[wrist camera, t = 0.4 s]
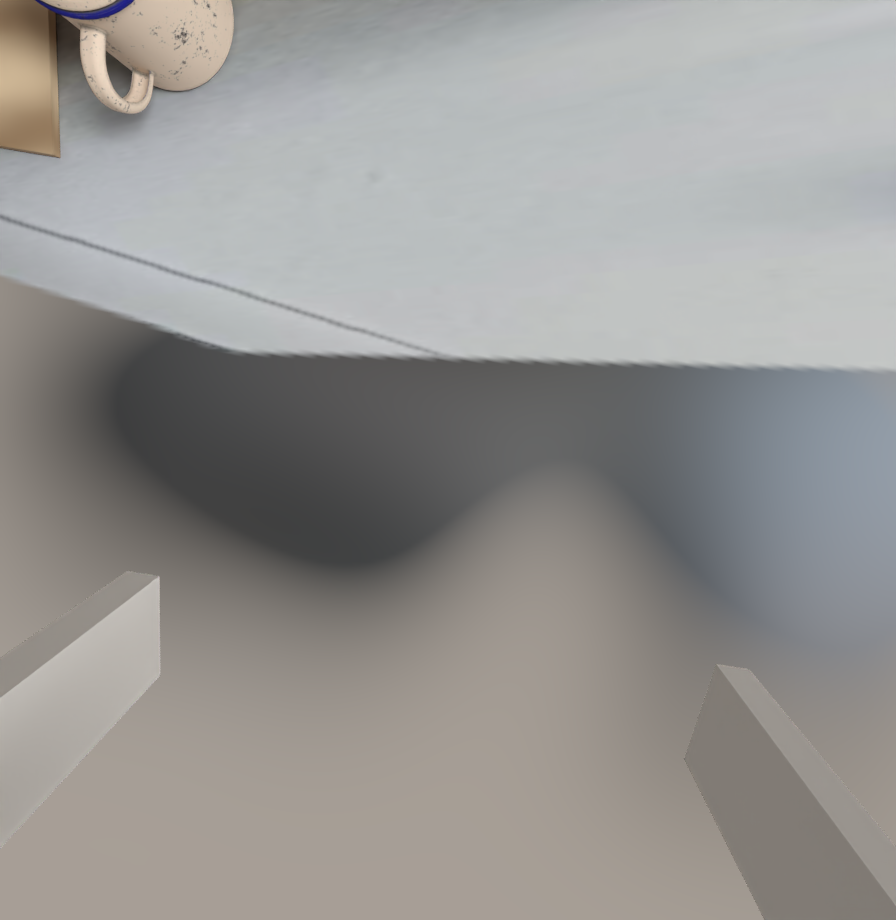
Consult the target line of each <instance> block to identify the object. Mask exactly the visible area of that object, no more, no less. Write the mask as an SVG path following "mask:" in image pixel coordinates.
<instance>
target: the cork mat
mask: <svg viewBox="0 0 896 920" xmlns="http://www.w3.org/2000/svg"><path fill="white" fill-rule="evenodd" d="M0 148H4V149H10V150H16V151H22V152H28V153H34V154H40V155H46V156H52V157H58V158H60V134H59V103H58V73H57V43H56V13H55V12H53V11H51V10H49V9H47V8H45V7H44V6H42V5H41V4H39V3H38V2H37V1H35V0H0Z"/></svg>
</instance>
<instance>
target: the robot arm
mask: <svg viewBox="0 0 896 920" xmlns="http://www.w3.org/2000/svg"><path fill="white" fill-rule="evenodd" d="M159 585H160V583H159V576H156V575H150V574H144V573H137V572H131V571H127V572H125V573H124V574H122V575H121V576H119V577H118V578H117V579H115V580H113V581H112V582H110V583H109V584H108V585H106V586H105V587H103V588H102V589H100V590H99V591H97V592H96V593H94V594H93V595H91V596H90V597H88V598H87V599H85V600H84V601H83V602H81V603H80V604H78V605H77V606H75V607H74V608H72V609H71V610H69V611H68V612H66V613H65V614H64V615H62V616H60V617H59V618H58V619H56V620H55V621H53V622H52V623H50V624H49V625H47V626H46V627H44V628H43V629H41V630H40V631H38V632H37V633H35V634H34V635H33V636H31V637H30V638H28V639H27V640H25V641H24V642H22V643H21V644H19V645H18V646H16V647H15V648H13V649H12V650H11V651H9V652H8V653H6V654H5V655H3V656H2V657H0V849H1V847H2V846H3V845H4V844H5V843H6V842H7V841H8V840H9V839H10V837H12V835H13V834H14V833H15V832H16V831H17V830H18V829H19V828H20V827H21V826H22V825H23V824H24V822H25V821H26V820H27V819H28V818H29V817H30V816H31V815H32V814H33V813H34V811H36V809H37V808H38V807H39V806H40V805H41V804H42V803H43V802H44V801H45V800H46V798H48V796H49V795H50V794H51V793H52V792H53V791H54V790H55V789H56V788H57V787H58V786H59V784H60V783H61V782H62V781H63V780H64V779H65V778H66V777H67V776H68V775H69V774H70V773H71V771H72V770H73V769H74V768H75V767H76V766H77V765H78V764H79V763H80V762H81V761H82V760H83V758H84V757H85V756H86V755H87V754H88V753H89V752H90V751H91V750H92V749H93V748H94V747H95V745H96V744H97V743H98V742H99V741H100V740H101V739H102V738H103V737H104V736H105V735H106V733H107V732H108V731H109V730H110V729H111V728H112V727H113V726H114V725H115V723H117V722H118V720H119V719H120V718H121V717H122V716H123V715H124V714H125V713H126V712H127V711H128V709H130V707H131V706H132V705H133V704H134V703H135V702H136V701H137V700H138V699H139V698H140V697H141V695H142V694H143V693H144V692H145V691H146V690H147V689H148V688H149V687H150V686H151V685H152V683H153V682H154V681H155V680H156V679H157V678H158V677H159V676H160V590H159V589H160V586H159ZM684 760H685V762H686V764H687V766H688V768H689V770H690V772H691V774H692V776H693V778H694V780H695V782H696V784H697V786H698V788H699V790H700V792H701V794H702V796H703V798H704V800H705V802H706V804H707V806H708V808H709V810H710V812H711V814H712V816H713V818H714V820H715V822H716V824H717V826H718V828H719V830H720V832H721V834H722V836H723V838H724V840H725V842H726V844H727V846H728V848H729V850H730V852H731V854H732V856H733V858H734V860H735V862H736V864H737V866H738V868H739V870H740V872H741V874H742V876H743V878H744V880H745V882H746V884H747V886H748V888H749V890H750V892H751V894H752V896H753V898H754V900H755V902H756V904H757V906H758V908H759V910H760V912H761V914H762V916H763V918H764V920H896V846H895V844H894V843H893V842H892V841H891V840H890V838H889V837H888V836H887V835H886V834H885V832H884V831H883V830H882V829H881V828H880V826H879V825H878V824H877V823H876V822H875V820H874V819H873V818H872V817H871V816H870V814H869V813H868V812H867V811H866V810H865V808H864V807H863V806H862V805H861V804H860V802H859V801H858V800H857V799H856V797H855V796H854V795H853V794H852V793H851V791H850V790H849V789H848V788H847V787H846V786H845V784H844V783H843V782H842V781H841V779H840V778H839V777H838V776H837V775H836V773H835V772H834V771H833V770H832V769H831V767H830V766H829V765H828V764H827V763H826V761H825V760H824V759H823V758H822V757H821V755H820V754H819V753H818V752H817V751H816V749H815V748H814V747H813V746H812V744H811V743H810V742H809V741H808V740H807V738H806V737H805V736H804V735H803V734H802V732H801V731H800V730H799V729H798V728H797V727H796V725H795V724H794V723H793V722H792V720H791V719H790V718H789V717H788V716H787V714H786V713H785V712H784V711H783V710H782V709H781V707H780V706H779V705H778V704H777V703H776V701H775V700H774V699H773V697H772V696H771V695H770V694H769V693H768V692H767V690H766V689H765V688H764V687H763V685H762V684H761V683H760V682H759V681H758V680H757V678H756V677H755V676H754V675H753V673H752V672H751V671H750V670H749V669H745V668H738V667H732V666H725V665H719V664H716V666H715V669H714V672H713V675H712V678H711V681H710V684H709V687H708V690H707V693H706V696H705V698H704V701H703V704H702V707H701V710H700V714H699V716H698V720H697V722H696V725H695V728H694V731H693V734H692V737H691V740H690V743H689V746H688V749H687V753H686V755H685V758H684Z"/></svg>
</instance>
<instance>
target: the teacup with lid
mask: <svg viewBox="0 0 896 920" xmlns="http://www.w3.org/2000/svg"><path fill="white" fill-rule="evenodd" d="M35 1H37V2H38V3H39V4H41V5H42V6H44V7H45V8H47V9H49V10H51V11H53V12H55V13H57V14H60V15H62V16H63V17H64V18H66V19H67V20H68V21H69V22H71V23H72V24H73V25H74V26H76V27H77V28H78V29H79V30H80V55H81V62H82V67H83V71H84V74H85V77H86V79H87V81H88V84H89V86H90V88H91V90H92V91H93V93H94V94H95V96H96V97H97V98H98V99H99V100H100V101H101V102H102V103H103V104H104V105H106V106H107V107H109V108H110V109H112V110H115V111H118V112H121V113H127V114H135V113H139V112H141V111H143V110H144V109H145V108H146V107H147V105H148V104H149V102H150V99H151V96H152V91H153V86H156V87H159V88H162V89H165V90H171V91H184V90H190V89H193V88H196V87H198V86H200V85H202V84H204V83H206V82H207V81H208V80H210V79H211V78H212V77H213V76H214V75H215V74H216V73H217V72H218V71H219V69H220V68H221V66H222V65H223V63H224V61H225V60H226V58H227V55H228V53H229V50H230V47H231V43H232V38H233V30H234V17H233V8H232V3H231V0H35ZM106 51H107V52H108V53H110V54H111V55H112V56H113V57H115V58H116V59H117V60H118V61H120V62H121V63H122V64H123V65H125V66H126V67H127V68H129V69H130V70H131V71H132V79H131V85H130V89H129V91H128V93H127V94H126V96H124V97H123V98H121V97H120V96H119V95H118V94H117V93H116V91H115V90H114V88H113V86H112V84H111V81H110V79H109V76H108V72H107V67H106Z"/></svg>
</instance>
